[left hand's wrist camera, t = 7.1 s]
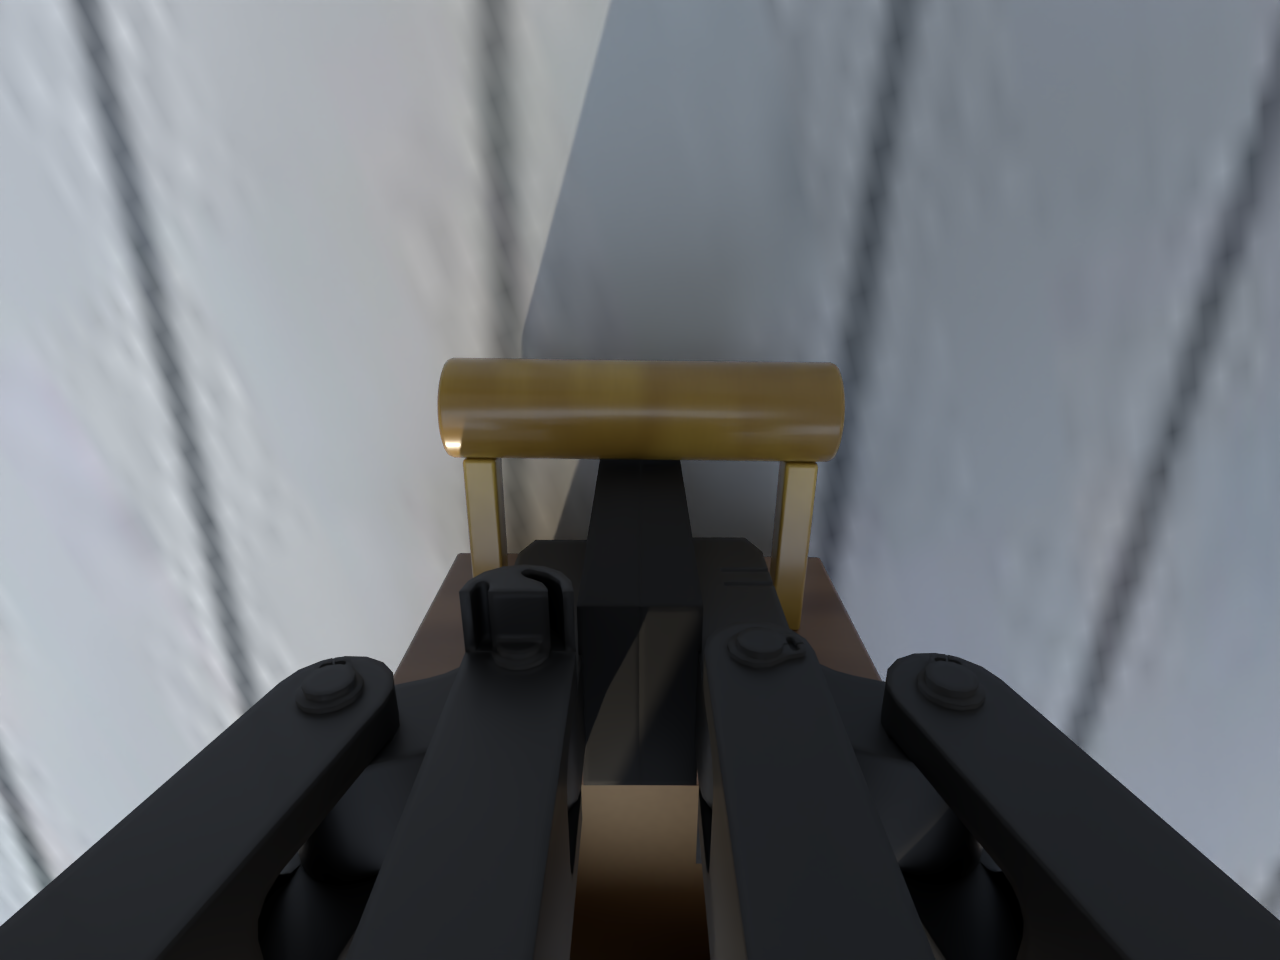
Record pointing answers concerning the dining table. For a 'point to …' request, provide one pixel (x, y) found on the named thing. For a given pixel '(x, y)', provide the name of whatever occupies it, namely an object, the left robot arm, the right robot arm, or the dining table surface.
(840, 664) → the drawer
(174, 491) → the dining table surface
